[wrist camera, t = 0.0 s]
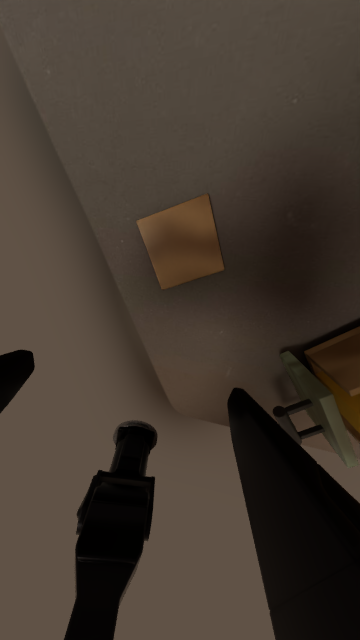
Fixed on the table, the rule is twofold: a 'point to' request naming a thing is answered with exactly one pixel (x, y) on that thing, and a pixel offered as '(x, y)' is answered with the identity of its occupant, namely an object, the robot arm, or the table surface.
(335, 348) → the drawer
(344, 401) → the holder
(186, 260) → the coaster
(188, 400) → the table surface
